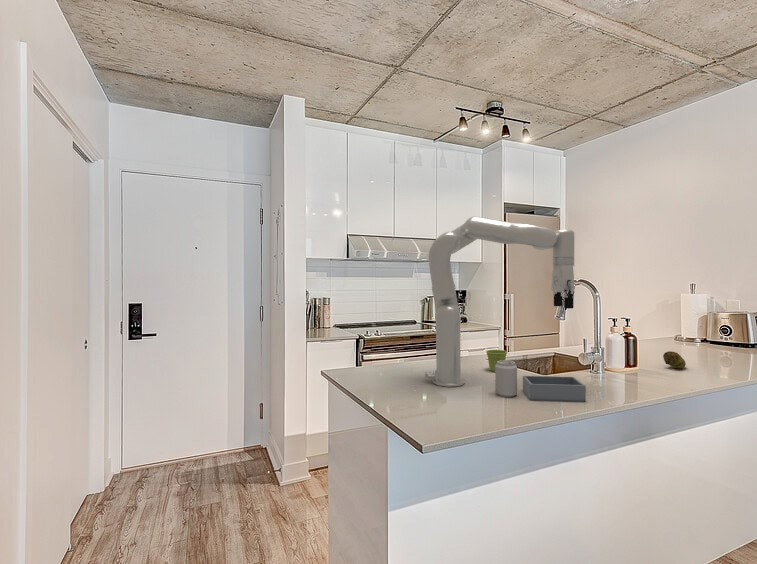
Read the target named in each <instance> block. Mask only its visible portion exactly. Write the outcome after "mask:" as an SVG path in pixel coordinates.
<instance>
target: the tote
mask: <svg viewBox="0 0 757 564" xmlns="http://www.w3.org/2000/svg"><path fill="white" fill-rule="evenodd" d="M522 391H523V392H524V393H523V394H525V395H526V397H527V398H528V399H529V401H539V402H540V401H541V402H542V401H543V402H544V401H545V402H571V403H572V402H573V403H574V402H575V403H577V402H578V403H579V402H580V403H581V402H582V403H586V399H587V398H586V385H585V384H584V383H583V382H581V381H580V380H579V379H577V378H576V377H575V376H553V375H551V376H548V375H547V376H544V375H522Z"/></svg>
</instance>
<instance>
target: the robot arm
mask: <svg viewBox="0 0 757 564" xmlns="http://www.w3.org/2000/svg"><path fill="white" fill-rule="evenodd" d="M477 240H481V241H486V242H493V243H497V244H504V245H513V244H514V245H516V244H517V245H526V246H531V247H533V248H534V249H536V250H540V251H543V250H549V249H551V250H552V274H551V276H552V277H551V291H552V292H553V306H554V307H563V308H564V309H574V298H575V295H574V294H575V289H576V286H575V271H574V267H575V232H574V230H572V229H558V230H553V229H551V228H549V227H544V226H537V225H533V224H526V223H518V222H512V221H504V220H497V219H493V218H486V217H481V216H471V217H469V218H468V219H466V221H465V222H464V223H463V224H461V225H460V226H458V227H456V228H455V229H453V230H451V231H445V232H444V233H442V234H440V235H439V236H438V237H437V238H436V239H435V240H434V241H433V243H432V244H431V246H430V249H429V252H428V266H429V275H430V280H431V281H430V282H431V292H432V296H433V297H432V298H433V302H434V307H435V312H436V313H435V341H436V342H435V350H436V351H435V352H436V353H435V354H436V355H435V357H436V360H435V361H436V362H435V364H436V368H435V371H431V372H430V371H425V374H424V376H425V378H428V379H431V378H432V384H434V385H437V386H439V387H447V388H449V387H461V386H463V385H465V379H463V378H462V377H461V375H462V373H461V371H462V370H461V327H462V326H461V323H462V322H461V321H462V319H461V317H462V316H461V312H460V309H459V304H458V297H457V292H456V284H455V282H454V277H453V272H452V264H451V257H452V255H454V254H455V253H457V252H459V251H460V250H462V249H463V248H465V247H467V246H469V245H470V244H472V243H473V242H475V241H477ZM562 294H564V298H563V295H562ZM563 303H564V305H563Z"/></svg>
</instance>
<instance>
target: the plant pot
mask: <svg viewBox="0 0 757 564" xmlns="http://www.w3.org/2000/svg"><path fill="white" fill-rule="evenodd" d="M485 353H486V355H487V361H488V366H489V371H490V372H493V373H495V365H496V364H497V361H500V360H506V357H507V354H508V351H506V350H503V349H487V350H485Z"/></svg>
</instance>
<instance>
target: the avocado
mask: <svg viewBox="0 0 757 564" xmlns="http://www.w3.org/2000/svg"><path fill="white" fill-rule="evenodd" d="M662 357H663V358H662V359H663V362H665V364H666V365H668V366H670V367H672V368H674V369H677V370H678V369H679V370H681V369H684V368H685V367H686V363H687V362H686V361H685V359H684V358H683V357H682V356H681V355H680V354H679V353H678V352H675V351H672V350H671V351H670V350H669V351H666V352H664V353H663V356H662Z"/></svg>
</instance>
